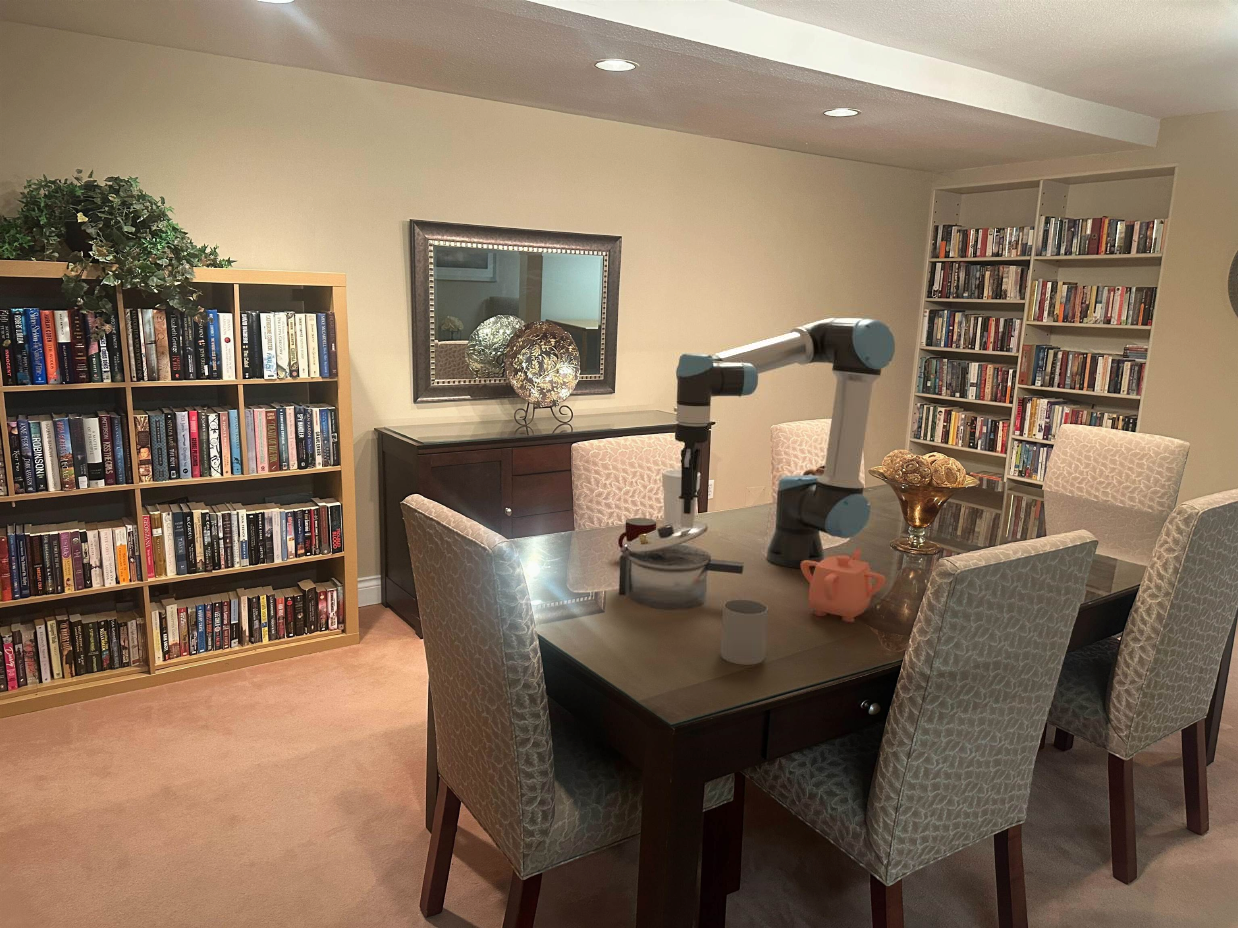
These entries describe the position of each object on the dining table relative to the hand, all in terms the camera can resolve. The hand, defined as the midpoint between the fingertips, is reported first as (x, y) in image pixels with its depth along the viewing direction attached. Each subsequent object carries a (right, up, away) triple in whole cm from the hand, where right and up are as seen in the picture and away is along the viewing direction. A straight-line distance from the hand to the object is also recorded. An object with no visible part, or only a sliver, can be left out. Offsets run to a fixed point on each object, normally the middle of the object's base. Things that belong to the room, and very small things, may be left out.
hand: (687, 526), depth 199 cm
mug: (-11, -11, +33) cm, 36 cm away
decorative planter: (+56, -1, +103) cm, 117 cm away
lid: (-5, -3, +2) cm, 6 cm away
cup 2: (+9, -23, -29) cm, 38 cm away
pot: (-1, -17, +3) cm, 17 cm away
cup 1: (+2, -6, +64) cm, 64 cm away
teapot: (+34, -19, -2) cm, 39 cm away
